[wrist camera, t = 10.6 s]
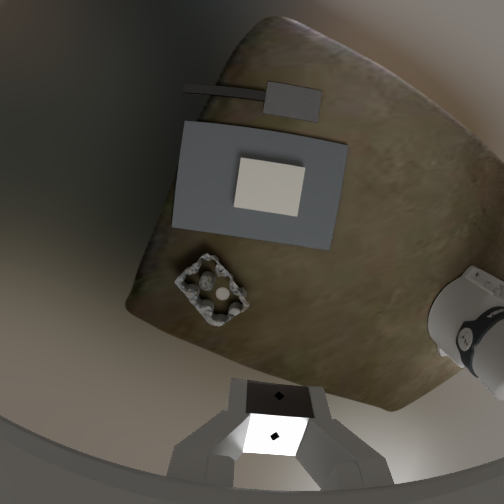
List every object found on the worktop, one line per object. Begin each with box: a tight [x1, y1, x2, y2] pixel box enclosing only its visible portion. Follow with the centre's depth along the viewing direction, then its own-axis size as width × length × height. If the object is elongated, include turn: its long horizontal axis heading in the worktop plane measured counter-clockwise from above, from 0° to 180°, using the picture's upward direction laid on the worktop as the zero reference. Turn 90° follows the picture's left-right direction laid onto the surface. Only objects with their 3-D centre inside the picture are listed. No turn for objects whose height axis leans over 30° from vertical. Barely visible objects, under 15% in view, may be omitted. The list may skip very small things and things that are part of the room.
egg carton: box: [175, 253, 251, 326], centre depth 49 cm, size 11×8×4 cm
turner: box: [183, 82, 322, 123], centre depth 42 cm, size 20×5×1 cm, turn 82°
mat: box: [172, 121, 348, 250], centre depth 46 cm, size 24×16×1 cm, turn 82°
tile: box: [234, 158, 305, 217], centre depth 45 cm, size 2×7×9 cm
